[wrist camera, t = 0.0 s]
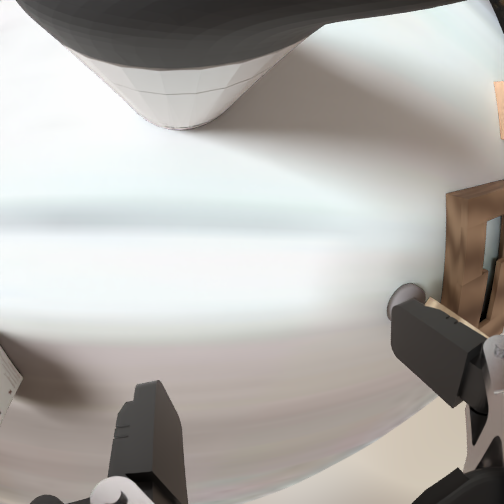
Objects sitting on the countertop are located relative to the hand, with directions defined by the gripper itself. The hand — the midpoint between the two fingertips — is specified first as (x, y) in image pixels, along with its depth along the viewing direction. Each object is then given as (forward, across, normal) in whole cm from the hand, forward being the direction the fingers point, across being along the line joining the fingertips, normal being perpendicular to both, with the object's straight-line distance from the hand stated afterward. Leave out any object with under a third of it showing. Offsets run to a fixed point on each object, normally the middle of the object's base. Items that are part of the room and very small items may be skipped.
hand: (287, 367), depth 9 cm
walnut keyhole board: (+18, -34, +13) cm, 41 cm away
